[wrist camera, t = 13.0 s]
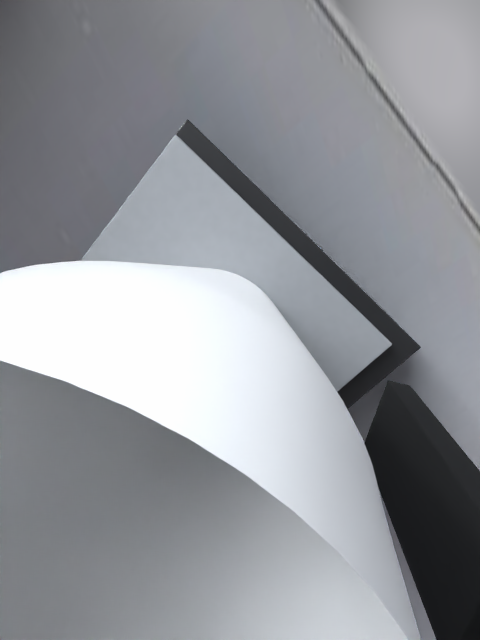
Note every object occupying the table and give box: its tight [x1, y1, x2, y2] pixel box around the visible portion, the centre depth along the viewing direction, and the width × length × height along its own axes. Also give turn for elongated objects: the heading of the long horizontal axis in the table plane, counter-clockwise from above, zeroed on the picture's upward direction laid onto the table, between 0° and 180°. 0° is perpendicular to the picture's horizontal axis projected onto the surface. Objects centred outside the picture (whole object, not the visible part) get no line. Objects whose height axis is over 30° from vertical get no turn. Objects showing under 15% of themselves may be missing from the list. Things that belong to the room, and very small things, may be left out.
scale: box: [81, 120, 420, 409], centre depth 17 cm, size 13×12×4 cm
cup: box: [0, 261, 421, 640], centre depth 9 cm, size 9×9×12 cm
